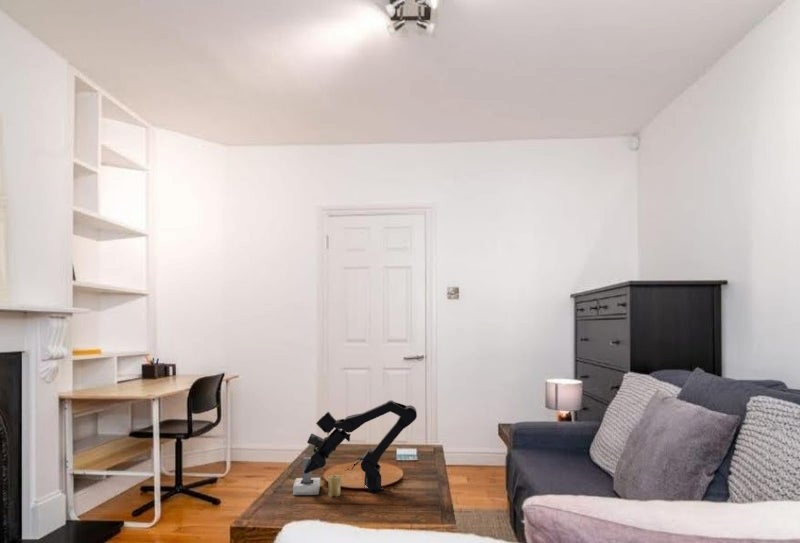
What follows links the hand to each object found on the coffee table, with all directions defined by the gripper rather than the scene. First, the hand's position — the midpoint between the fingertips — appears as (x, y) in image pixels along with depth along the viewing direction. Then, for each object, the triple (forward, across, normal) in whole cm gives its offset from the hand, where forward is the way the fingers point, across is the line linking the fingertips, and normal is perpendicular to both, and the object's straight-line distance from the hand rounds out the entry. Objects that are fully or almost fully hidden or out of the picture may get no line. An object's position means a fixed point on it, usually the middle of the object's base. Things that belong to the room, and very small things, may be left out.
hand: (305, 469), depth 212 cm
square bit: (+6, 0, +6) cm, 8 cm away
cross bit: (-2, +6, +14) cm, 16 cm away
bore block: (+6, 0, +6) cm, 8 cm away
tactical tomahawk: (-8, -35, +21) cm, 42 cm away
